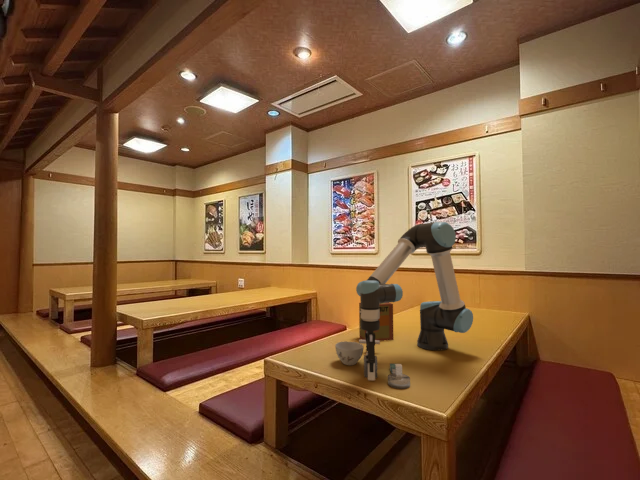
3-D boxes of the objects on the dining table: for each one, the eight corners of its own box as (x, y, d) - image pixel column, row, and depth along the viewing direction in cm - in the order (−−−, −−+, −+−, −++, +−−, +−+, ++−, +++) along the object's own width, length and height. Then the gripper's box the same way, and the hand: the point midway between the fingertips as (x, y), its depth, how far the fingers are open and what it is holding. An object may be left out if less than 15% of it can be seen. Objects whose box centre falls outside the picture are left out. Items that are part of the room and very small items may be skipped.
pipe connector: (379, 356, 150) (379, 334, 151) (358, 355, 152) (358, 333, 153) (380, 349, 160) (379, 329, 160) (360, 348, 162) (359, 328, 162)
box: (365, 342, 174) (365, 305, 175) (359, 337, 183) (359, 302, 184) (393, 339, 178) (392, 303, 179) (386, 335, 187) (386, 301, 188)
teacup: (354, 370, 132) (354, 351, 133) (329, 364, 140) (329, 345, 140) (371, 360, 145) (371, 342, 145) (347, 355, 152) (347, 338, 152)
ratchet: (403, 369, 133) (403, 352, 134) (411, 389, 114) (411, 369, 114) (384, 368, 134) (383, 351, 135) (389, 388, 115) (388, 368, 115)
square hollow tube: (376, 372, 130) (376, 355, 130) (377, 377, 125) (377, 359, 125) (364, 372, 130) (363, 355, 130) (364, 377, 125) (364, 359, 126)
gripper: (360, 313, 141) (360, 362, 140) (361, 326, 117) (361, 385, 116) (377, 313, 140) (377, 363, 139) (382, 326, 116) (382, 386, 115)
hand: (370, 373), depth 127 cm, fingers open, 12 cm apart
